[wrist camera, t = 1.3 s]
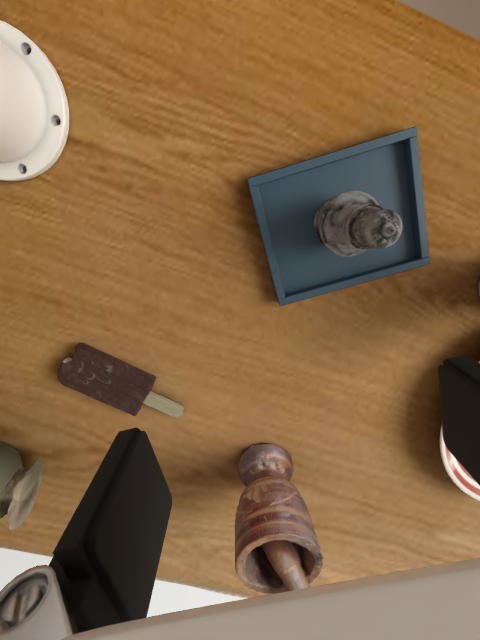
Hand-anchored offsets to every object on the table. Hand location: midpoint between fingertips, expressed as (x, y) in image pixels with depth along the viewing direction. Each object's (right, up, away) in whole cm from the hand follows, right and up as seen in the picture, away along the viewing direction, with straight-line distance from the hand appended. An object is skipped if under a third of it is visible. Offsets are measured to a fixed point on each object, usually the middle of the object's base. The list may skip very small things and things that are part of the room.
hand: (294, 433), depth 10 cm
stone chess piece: (+9, +14, +24) cm, 28 cm away
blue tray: (+9, +14, +24) cm, 29 cm away
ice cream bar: (-15, -4, +29) cm, 34 cm away
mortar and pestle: (+3, -17, +34) cm, 38 cm away
